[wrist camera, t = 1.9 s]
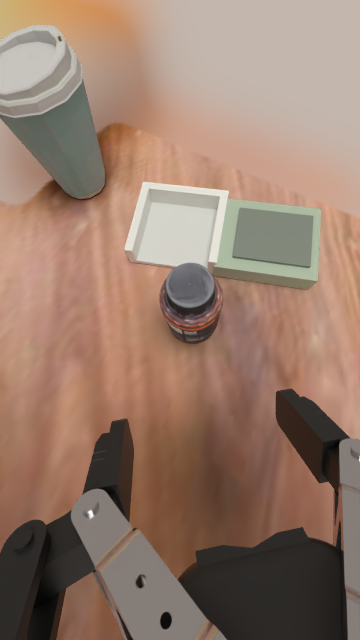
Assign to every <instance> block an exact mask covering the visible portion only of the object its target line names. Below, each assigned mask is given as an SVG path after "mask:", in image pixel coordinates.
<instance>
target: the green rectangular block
mask: <svg viewBox="0 0 360 640" xmlns="http://www.w3.org/2000/svg"><path fill="white" fill-rule="evenodd" d="M320 219H321V209H317V208H308V207H299V206H290V205H281V204H272V203H263V202H254V201H245V200H236V199H227V205H226V211H225V217H224V223H223V228H222V234H221V240H220V246H219V252H218V258H217V264H216V265H214V270H213V276H219V277H225V278H232V279H239V280H246V281H253V282H260V283H266V284H273V285H280V286H287V287H294V288H301V289H309V288H310V287H311V286H313V285H314V284H315V283H316V282H317V281H318V260H319V240H320Z"/></svg>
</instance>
